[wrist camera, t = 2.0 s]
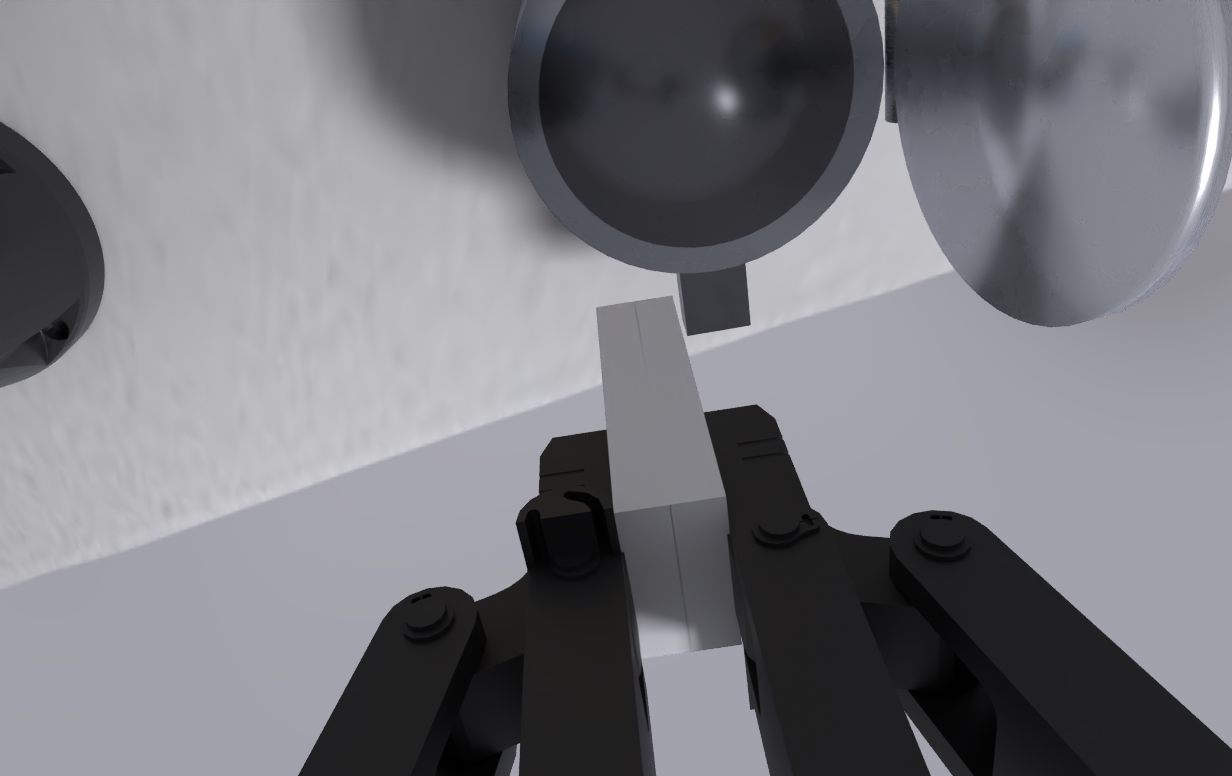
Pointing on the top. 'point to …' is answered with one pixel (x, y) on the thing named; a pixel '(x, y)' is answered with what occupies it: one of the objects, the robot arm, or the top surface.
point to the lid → (1065, 143)
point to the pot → (697, 127)
